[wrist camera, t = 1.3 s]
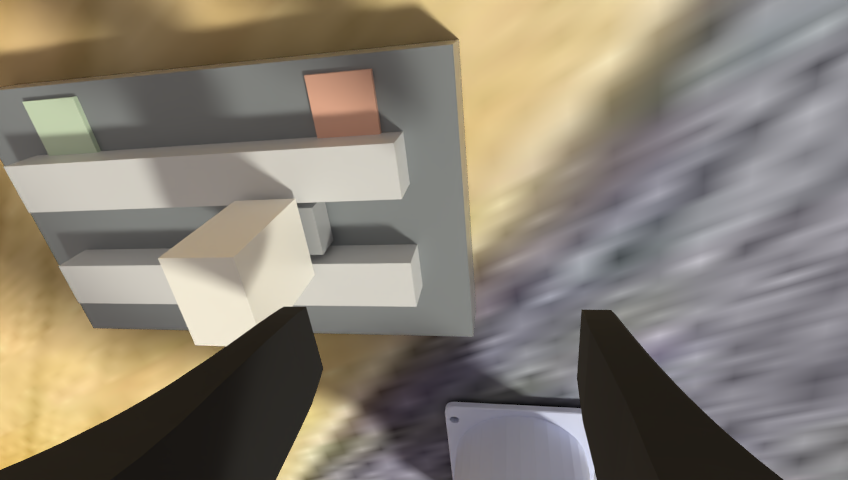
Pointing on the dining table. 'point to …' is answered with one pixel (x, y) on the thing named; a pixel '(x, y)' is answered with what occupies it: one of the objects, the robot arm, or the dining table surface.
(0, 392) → the dining table surface
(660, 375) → the robot arm
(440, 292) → the panel
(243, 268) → the lever
